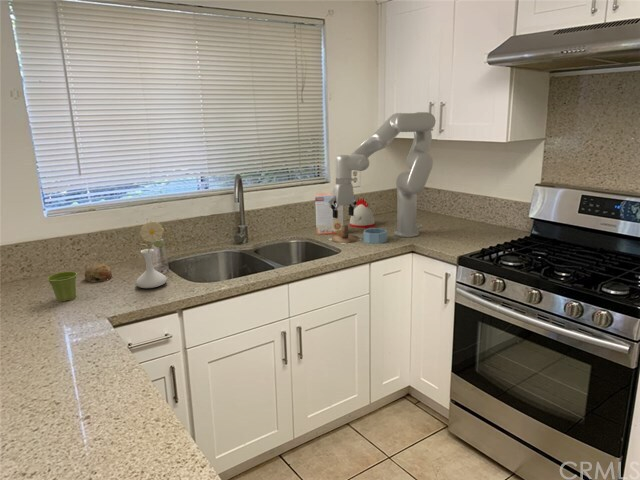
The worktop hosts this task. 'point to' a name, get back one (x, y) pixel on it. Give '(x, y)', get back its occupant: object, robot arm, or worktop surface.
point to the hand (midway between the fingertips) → (343, 216)
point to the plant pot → (63, 285)
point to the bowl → (375, 235)
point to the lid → (344, 236)
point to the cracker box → (327, 216)
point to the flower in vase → (151, 276)
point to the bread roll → (98, 273)
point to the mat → (345, 243)
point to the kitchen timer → (362, 216)
